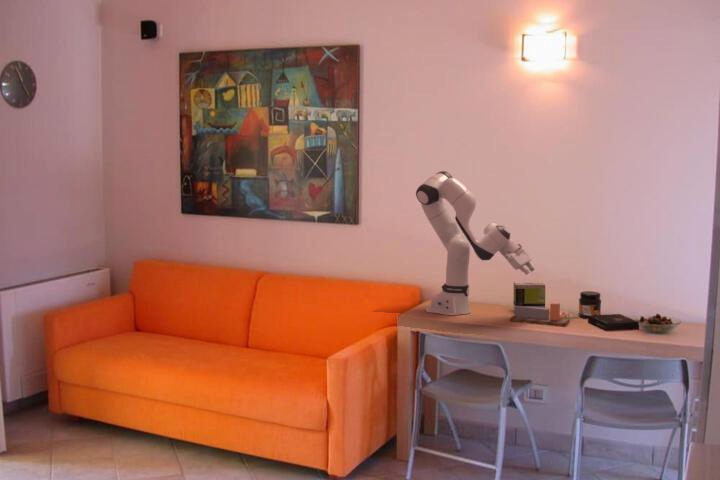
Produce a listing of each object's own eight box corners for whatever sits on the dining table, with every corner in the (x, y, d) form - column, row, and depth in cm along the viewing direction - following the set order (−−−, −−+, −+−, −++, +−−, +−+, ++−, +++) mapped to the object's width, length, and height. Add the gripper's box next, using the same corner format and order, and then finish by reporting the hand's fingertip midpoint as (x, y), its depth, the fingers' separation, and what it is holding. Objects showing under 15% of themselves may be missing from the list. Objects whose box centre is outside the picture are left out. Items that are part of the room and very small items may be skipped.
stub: (549, 320, 369) (550, 303, 368) (550, 318, 371) (551, 302, 370) (558, 320, 368) (558, 304, 367) (559, 319, 370) (559, 303, 369)
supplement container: (584, 319, 377) (585, 295, 375) (574, 315, 387) (575, 291, 386) (604, 318, 379) (605, 294, 378) (593, 314, 389) (594, 290, 388)
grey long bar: (514, 316, 376) (514, 306, 376) (515, 315, 379) (516, 305, 378) (547, 320, 370) (548, 309, 369) (548, 318, 372) (549, 308, 371)
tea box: (542, 309, 400) (543, 281, 398) (545, 313, 390) (546, 284, 388) (512, 309, 401) (513, 280, 400) (514, 313, 391) (515, 284, 390)
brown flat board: (510, 321, 374) (510, 318, 373) (515, 317, 383) (515, 313, 382) (565, 326, 363) (565, 323, 362) (569, 322, 372) (569, 318, 371)
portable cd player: (639, 330, 358) (639, 321, 358) (605, 332, 355) (605, 323, 354) (620, 322, 374) (620, 314, 373) (587, 323, 371) (588, 315, 370)
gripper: (509, 249, 364) (529, 271, 361) (521, 243, 382) (540, 264, 379) (500, 258, 367) (520, 280, 363) (512, 252, 385) (531, 273, 381)
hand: (530, 272), depth 371 cm, fingers open, 8 cm apart
